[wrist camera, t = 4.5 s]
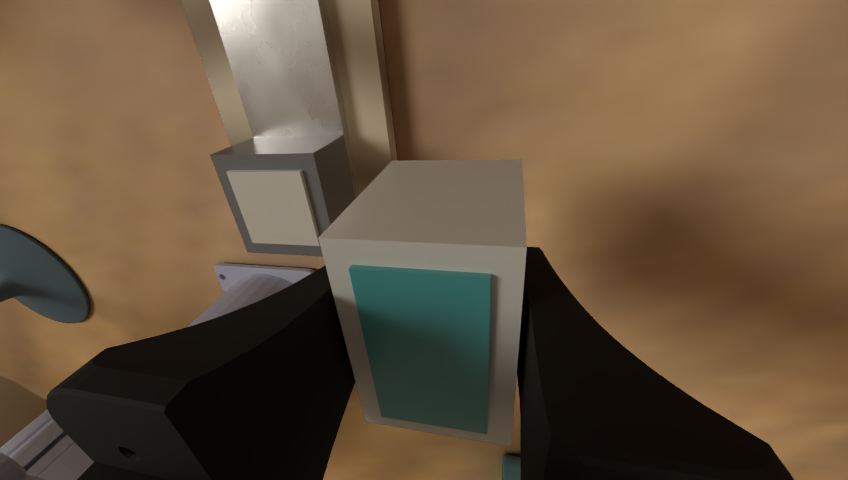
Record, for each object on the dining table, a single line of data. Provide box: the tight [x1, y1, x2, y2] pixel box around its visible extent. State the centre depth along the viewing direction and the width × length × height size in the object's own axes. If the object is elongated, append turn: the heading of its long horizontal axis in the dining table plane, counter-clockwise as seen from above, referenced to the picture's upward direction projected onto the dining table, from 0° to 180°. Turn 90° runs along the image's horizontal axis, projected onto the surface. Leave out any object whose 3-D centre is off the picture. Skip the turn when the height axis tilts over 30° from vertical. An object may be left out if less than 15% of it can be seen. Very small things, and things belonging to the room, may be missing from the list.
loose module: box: [318, 159, 527, 446], centre depth 10 cm, size 6×4×5 cm, turn 5°
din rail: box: [209, 0, 360, 198], centre depth 16 cm, size 19×5×1 cm, turn 5°
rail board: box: [180, 0, 398, 194], centre depth 16 cm, size 19×9×1 cm, turn 5°
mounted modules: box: [210, 135, 356, 256], centre depth 14 cm, size 18×5×3 cm, turn 5°
